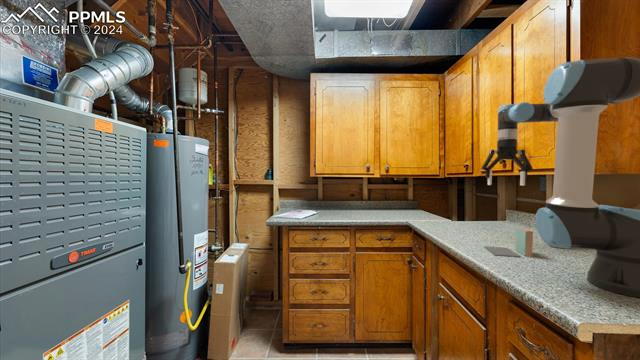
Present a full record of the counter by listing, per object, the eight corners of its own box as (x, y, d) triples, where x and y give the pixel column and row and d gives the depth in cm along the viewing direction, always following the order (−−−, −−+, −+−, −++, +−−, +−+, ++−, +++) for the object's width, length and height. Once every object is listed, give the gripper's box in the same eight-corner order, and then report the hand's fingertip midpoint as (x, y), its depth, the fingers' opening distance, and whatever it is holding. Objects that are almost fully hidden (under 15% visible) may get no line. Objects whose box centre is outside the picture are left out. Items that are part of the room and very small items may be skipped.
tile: (532, 256, 106) (533, 231, 106) (525, 256, 107) (525, 231, 107) (521, 250, 114) (522, 227, 114) (515, 250, 115) (516, 226, 114)
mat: (521, 257, 106) (521, 256, 105) (495, 255, 107) (495, 254, 107) (507, 248, 117) (507, 247, 117) (483, 247, 119) (483, 246, 119)
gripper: (533, 139, 127) (532, 185, 127) (474, 140, 132) (473, 184, 132) (542, 137, 119) (541, 186, 120) (480, 138, 125) (479, 185, 125)
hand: (505, 185), depth 126 cm, fingers open, 13 cm apart
